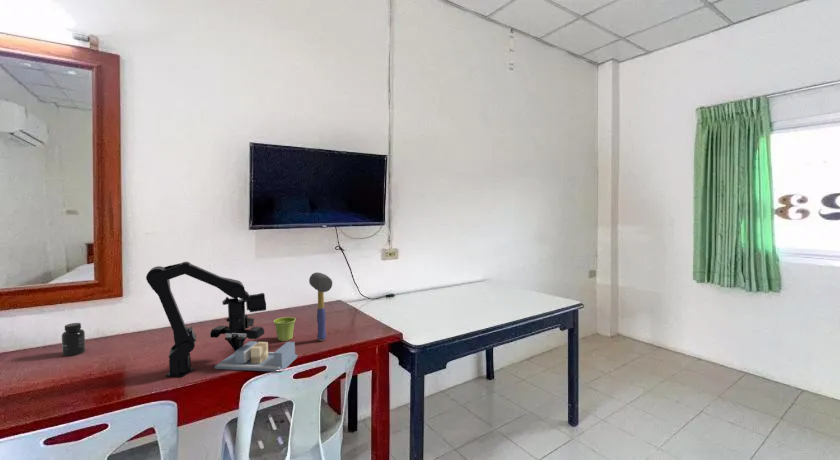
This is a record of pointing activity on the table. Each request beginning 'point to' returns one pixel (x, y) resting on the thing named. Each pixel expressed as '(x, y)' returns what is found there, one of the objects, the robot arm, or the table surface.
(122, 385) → the table surface
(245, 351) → the block
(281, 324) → the plant pot
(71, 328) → the supplement bottle
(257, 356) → the block
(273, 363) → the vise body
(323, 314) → the rubber mallet
